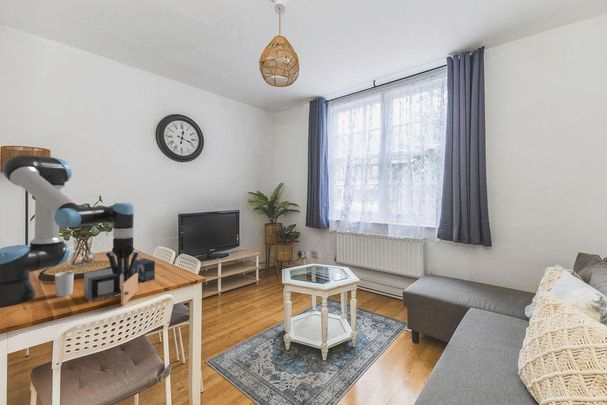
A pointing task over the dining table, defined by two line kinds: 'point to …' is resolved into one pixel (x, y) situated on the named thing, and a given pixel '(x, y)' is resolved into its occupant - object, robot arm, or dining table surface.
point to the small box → (145, 269)
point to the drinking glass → (64, 283)
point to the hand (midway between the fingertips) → (122, 288)
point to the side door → (129, 288)
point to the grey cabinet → (102, 284)
